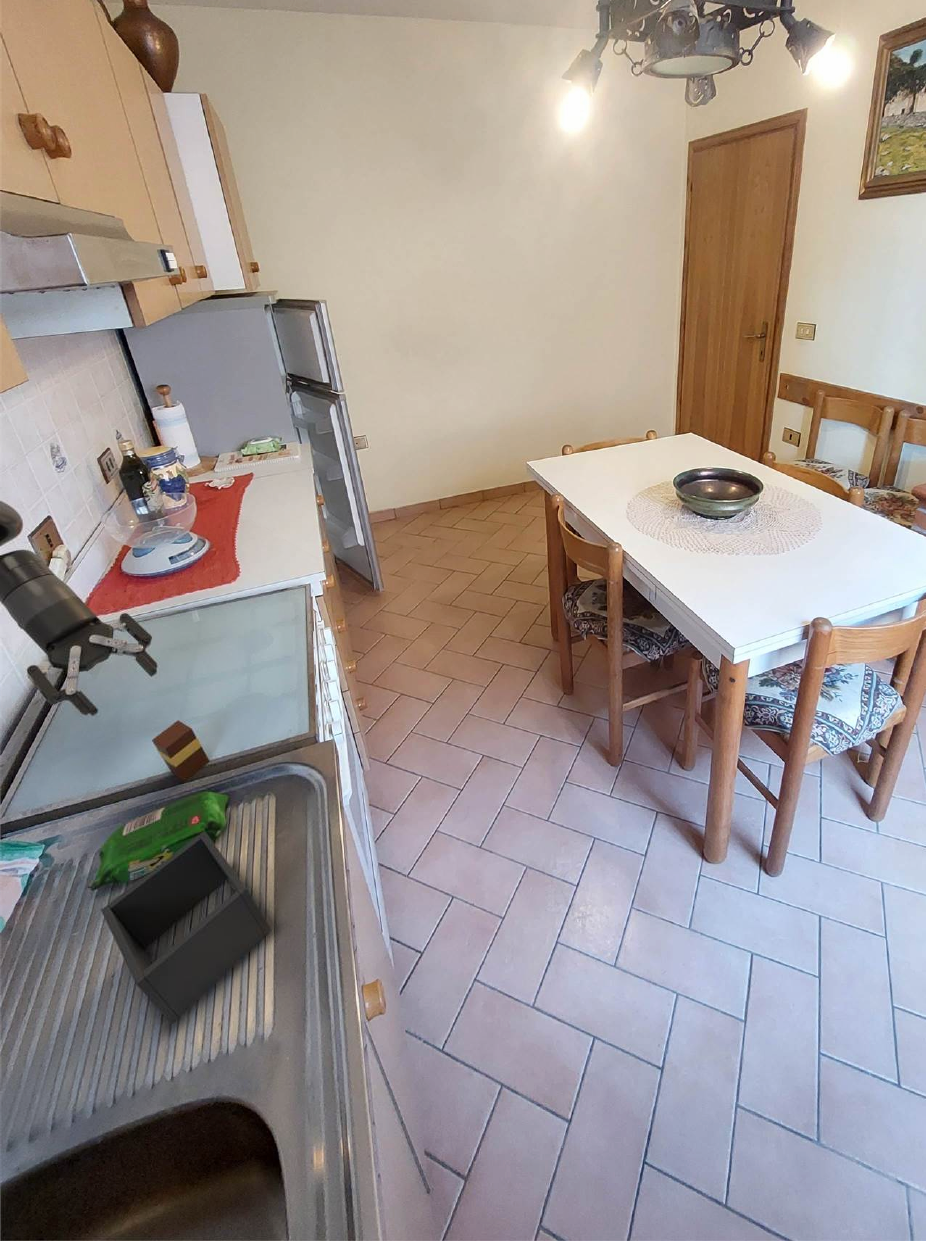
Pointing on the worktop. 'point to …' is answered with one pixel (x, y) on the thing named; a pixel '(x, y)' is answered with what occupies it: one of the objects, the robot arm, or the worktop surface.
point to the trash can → (200, 950)
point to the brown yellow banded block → (181, 750)
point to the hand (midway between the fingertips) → (126, 692)
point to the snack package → (159, 837)
